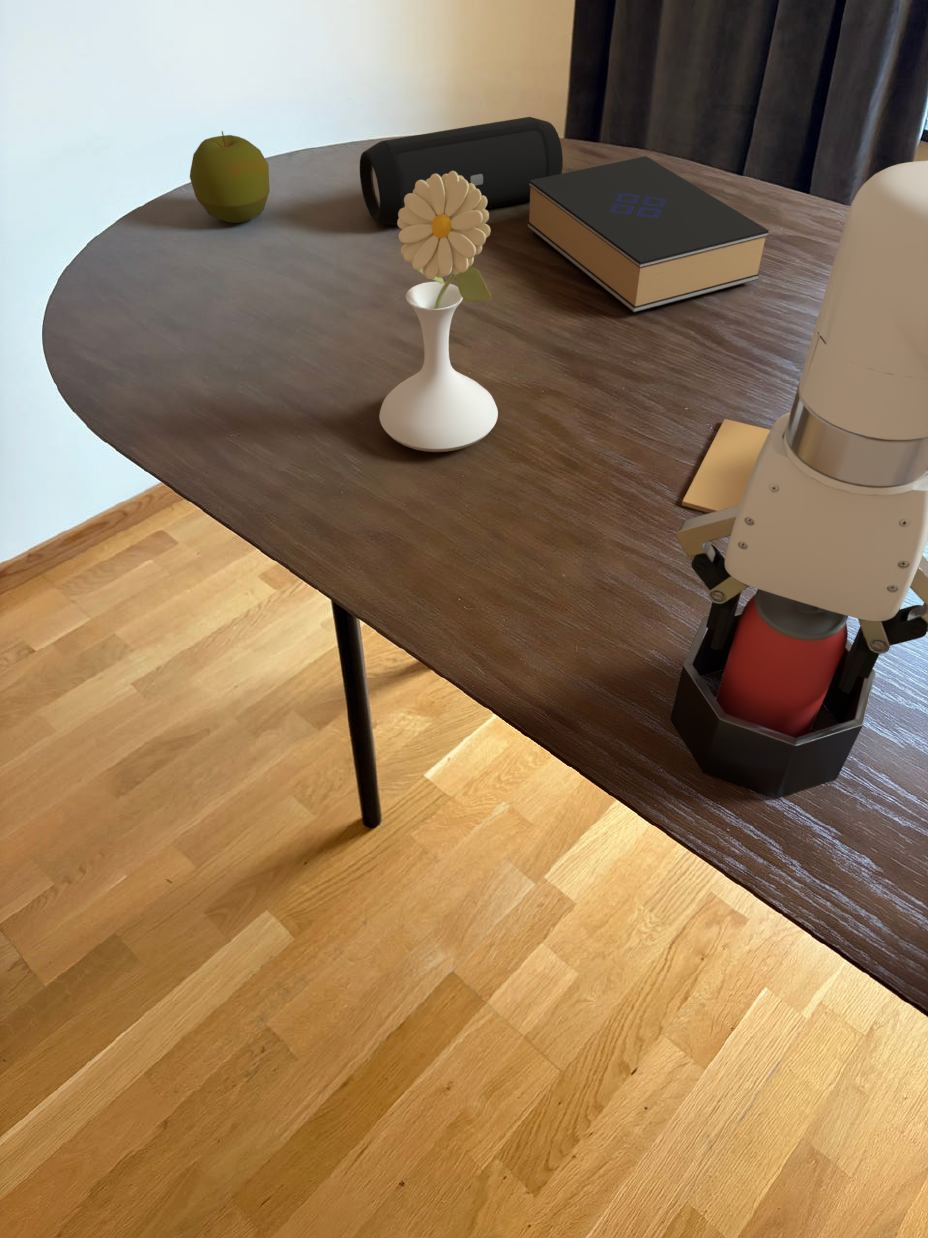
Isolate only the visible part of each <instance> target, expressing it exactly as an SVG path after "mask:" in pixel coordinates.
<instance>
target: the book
mask: <svg viewBox="0 0 928 1238" xmlns="http://www.w3.org/2000/svg"><path fill="white" fill-rule="evenodd" d="M529 181H530V182H529V186H530V187H531V190H530V200H529V216H528V217H529V218H528V222H527V226H526V227H527V228H528V229H530V231H532V232H533V233H534V234H536V235H537V236H538V237H540V239H542V240H543V241H544V242H545V243H546V244H548V245H549V246H551V247H552V248H553V249H554V250H556V251H557V252H558V253H559V254H561V255H562V256H563V257H564V258H565V259H567V260H568V261H569V262H570V263H572V264H573V265H574V266H576V268H578V269H579V270H580V271H582V273H584V274H585V275H586V276H588V277H589V278H590V279H591V280H593V281H594V282H595V283H597V284H598V285H599V286H600V287H601V288H603V289H604V290H605V291H607V293H609V294H610V295H611V296H613V297H614V298H615V299H616V300H618V302H620V303H621V304H623V305H624V306H625V307H626V308H628V309H629V310H630V311H631V312H633V313H637V312H642V311H645V310H648V309H653V308H657V307H661V306H664V305H667V304H672V303H675V302H678V301H682V300H687V299H691V298H694V297H697V296H701V295H705V294H709V293H713V292H716V291H721V290H724V289H728V288H733V287H735V286H740V285H744V284H746V283H750V282H754V281H757V280H759V276H760V274H759V271H760V266H761V262H762V258H763V254H764V248H765V244H766V239H767V237H769V233H770V230H769V229H767V228H766V227H764V226H763V225H761V224H759V223H757V222H756V221H754V220H753V219H751V218H749V217H748V216H746V215H745V214H743V213H742V212H740V211H738V210H736V209H734V208H733V207H731V206H729V205H728V204H726V203H725V202H723V201H721V200H719V199H718V198H716V197H714V196H713V195H711V194H709V192H706V191H705V190H703V189H701V188H700V187H698V186H696V185H694V184H693V183H691V182H690V181H688V180H687V179H685V178H683V177H682V176H680V175H678V174H676V173H675V172H673V171H671V170H670V169H668V168H666V167H665V166H663V165H661V164H660V163H658V162H656V161H654V160H653V159H652V158H650V157H648V156H646V155H645V156H644V155H643V156H640V157H636V158H635V157H634V158H631V159H625V160H620V161H615V162H611V163H607V164H601V165H597V166H592V167H587V168H582V169H578V170H573V171H568V172H562V174H558V175H553V176H548V177H543V178H539V179H534V180H529Z"/></svg>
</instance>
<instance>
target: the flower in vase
mask: <svg viewBox="0 0 928 1238" xmlns="http://www.w3.org/2000/svg"><path fill="white" fill-rule="evenodd" d="M404 203H405V207H404V208H401V209H400V211H399V213H398V216H399V219H398V221H397V224H398V225H397V227H398V228H399V229H401V230H400V232H399V233H398V240H399V242H401V243H402V244H403V245H402V246H401V248H400V254H401V255H402V256H403V260H404V261H405V262H406V263H411V265H412V269H413V270H414V271H418V272H419V273H420V274H422V275H424V276H425V278H427V279H428V280H433V281H427V282H423V283H419V284H416V285H414V286H412V287H411V288H410V289H408V290H407V292H406V294H405V300H406V302H407V303H408V304H409V306H410V307H411V308H412V309H413V310H414V312H415V313H416V316H417V318H418V320H419V325H420V328H421V333H422V339H423V349H424V350H423V351H424V353H423V354H424V357H423V365H422V367H421V369H420V370H419V371H418V372H416V373H415V374H413V375H411V376H409V377H408V378H406V379H405V380H403V381H401V382H400V383H399V384H398V385H396V386H395V387H394V388H393V389H392V390H391V391H390V392H389V393H388V394H387V395H386V396H385V398H384V399H383V402H382V404H381V407H380V410H379V418H378V419H379V422H380V425H381V427H382V428H383V430H384V431H385V432H386V434H388V436H389V437H390V438H391V439H392V440H394V441H395V442H397V443H398V444H401V445H402V446H404V447H407V448H410V449H413V450H416V451H422V452H430V453H431V452H432V453H442V452H443V453H445V452H452V451H458V450H461V449H465V448H468V447H470V446H473V445H475V444H476V443H478V442H480V441H481V440H482V439H484V438H485V437H486V436H487V435H488V434H489V433H490V431H492V429H493V428H494V427H495V425H496V423H497V421H498V418H499V417H498V416H499V411H498V407H497V405H496V402H495V399H494V398H493V396H492V394H491V393H490V392H489V391H488V390H487V389H486V388H484V387H483V385H481V384H479V382H477V381H475V380H474V379H472V378H470V377H468V376H466V375H465V374H462V373H460V372H458V371H456V370H455V369H454V368H453V366H452V364H451V360H450V350H449V349H450V348H449V347H450V346H449V343H450V341H449V339H450V329H451V324H452V320H453V316H454V314H455V312H456V309H457V308H458V307H459V305H460V304H461V303H462V302H463V299H464V300H466V301H470V302H489V301H493V296H492V294H491V292H490V290H489V288H488V287H487V284H486V282H485V280H484V277H483V276H482V274H481V272H480V271H479V269H478V268H476V267H474V266H472V265H473V264H474V261H475V258H474V257H475V256H478V255H480V254H481V253H482V252H483V251H482V250H483V246H484V245H485V243H486V240H487V238H488V237H490V235H491V227H490V225H488V224H487V222H488V221H489V219H490V213H489V211H488V209H485V208H486V206H487V198H486V197H485V196H481V192H480V190H479V189H476V187H475V185H474V184H472V183H469V184H468V182H467V180H465V179H464V177H463V176H460V175H459V176H458V174H457V173H456V172H455V171H451V172H449V174H444V175H443V176H442V177H440V176H439V175H438V174H433V175H432V176H431V177H430V178H429V179H427V180H426V181H423V180H418V181H417V182H416V184H415V189H414V190H413V194H412V193H409V194H407V195H406V196H405V198H404ZM448 276H449V277H448ZM444 277H448V278H447V280H446V281H445V282H444V279H443V278H444ZM454 279H455V282H456V285H455V284H452V282H453V280H454Z"/></svg>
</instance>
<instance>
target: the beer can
mask: <svg viewBox="0 0 928 1238" xmlns="http://www.w3.org/2000/svg"><path fill="white" fill-rule="evenodd" d="M744 606H745V607H744ZM744 606H743V607H744V609H743V611H742V614H741V616H740V618H739V622H738V625H737V629H736V632H735V635H734V639H733V642H732V646H731V649H730V653H729V656H728V659H727V663H726V666H725V670H723V673H722V677H721V679H720V684H719V687H718V691H717V694H716V697H715V699H716V700H717V702H718V703H719V705H720V706H721V708H722V709H723V711H724V712H725V713H726V714H728V715H730V716H733V717H736V718H739V719H742V720H745V721H748V722H751V723H754V724H756V725H759V726H762V727H765V728H768V729H771V730H774V731H777V732H780V733H782V734H785V735H788V736H791V737H794V738H796V737H799V736H802V735H805V734H809V733H811V731H812V728H813V726H814V722H815V720H816V718H817V716H818V714H819V712H820V709H821V706H822V705H823V704H822V702H823V700H824V697H825V695H826V692H827V690H828V688H829V685H830V683H831V681H832V678H833V676H834V674H835V671H836V669H837V667H838V664H839V662H840V659H841V657H842V655H843V652H844V649H845V646H846V643H847V639H848V635H849V633H848V625H847V621H848V619H849V616H846V615H843V614H839V613H836V612H832V611H829V610H826V609H822V608H819V607H816V606H812V605H809V604H805V603H802V602H799V601H796V600H792V599H789V598H786V597H783V596H779V595H776V594H773V593H770V592H767V591H764V590H760V589H756V592H755V594H754V595H753V596H752V597H751V598H750V599H749V600H748V601H747V602H746V604H745V605H744Z"/></svg>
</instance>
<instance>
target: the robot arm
mask: <svg viewBox="0 0 928 1238" xmlns="http://www.w3.org/2000/svg"><path fill="white" fill-rule="evenodd" d="M840 235H841V236H840V238H839V242H838V246H837V249H836V253H835V256H834V260H833V262H832V266H831V269H830V273H829V276H828V281H827V284H826V288H825V290H824V293H823V298H822V302H821V305H820V308H819V312H818V316H817V319H816V323H815V326H814V329H813V333H812V337H811V340H810V343H809V347H808V351H807V354H806V358H805V361H804V365H803V367H802V368H803V369H802V372H801V375H800V379H799V382H798V385H797V388H796V391H795V395H794V399H793V403H792V406H791V410H790V411H788V412H786V413H784V414H782V415H780V416H778V418H777V419H776V420H775V422H774V423H773V425H772V427H771V428H770V429H769V430H770V432H769V434H768V436H767V438H766V440H765V442H764V444H763V446H762V449H761V451H760V453H759V455H758V458H757V460H756V463H755V465H754V468H753V470H752V473H751V476H750V479H749V481H748V484H747V487H746V490H745V493H744V496H743V498H742V501H741V504H740V505H738V506H734V507H731V508H727V509H723V510H719V511H716V512H712V513H705V514H702V515H697V516H694V517H689V518H686V519H684V520H683V521H682V523H681V524H680V526H679V528H678V531H677V533H676V539H677V541H678V542H679V544H680V546H681V547H682V549H683V551H684V553H685V554H686V556H687V557H688V558H689V559H690V561H691V568H692V570H693V571H694V572H695V574H696V575H697V577H699V579H700V580H701V582H702V583H703V584H704V585H705V586H706V587H707V589H708V590H709V592H708V595H707V596H708V599H709V600H710V601H711V606H710V610H709V613H708V616H709V617H708V621H707V624H706V627H707V628H710V629H713V630H715V633H714V637H713V640H712V644H711V649H714V650H717V651H718V650H719V649H721V650H722V648H723V646H724V643H725V641H726V638H727V636H728V633H729V630H730V628H731V625H732V623H733V620H734V616H735V613H736V609H737V608H738V606H739V603H740V599H741V595H742V592H743V591H745V590H746V589H749V588H750V587H752V588H755V589H756V590H758V589H760V590H764V591H767V592H770V593H773V594H776V595H779V596H783V597H786V598H789V599H792V600H796V601H799V602H802V603H805V604H809V605H812V606H816V607H819V608H822V609H826V610H829V611H832V612H836V613H839V614H843V615H846V616H848V617H850V618H855V619H857V620H858V623H859V628H858V630H857V633H856V636H855V637H854V639H853V641H852V643H851V644H852V646H851V649H850V651H849V653H848V656H847V658H846V662H845V665H844V669H843V673H842V676H841V680H840V684H839V688H841V691H843V692H846V693H850V691H851V689H852V687H853V685H854V683H855V681H856V678H857V676H860V677H863V678H866V679H868V677H869V675H870V673H871V671H872V669H873V670H874V667H875V664H876V662H877V661H878V658H879V657H880V654H881V655H882V654H886V653H888V652H889V651H890V649H891V646H895V645H898V644H899V645H900V644H902V643H907V642H911V641H914V640H918V639H922V638H924V637H925V636H926V635H927V633H928V560H927V559H926V557H924V553H925V550H926V548H927V547H926V546H927V544H928V160H918V161H917V160H916V161H908V162H903V163H897V164H894V165H891V166H889V167H886V168H884V169H882V170H880V171H878V172H876V173H875V174H873V175H872V176H871V177H870V178H869V179H867V181H865V182H864V183H863V184H862V185H861V187H860V188H859V190H858V191H857V192H856V194H855V196H854V198H853V199H852V201H851V204H850V206H849V210H848V213H847V216H846V218H845V221H844V224H843V228H842V232H841V234H840ZM728 537H729V539H728V543H727V547H726V552H725V555H724V556H723V554H722V553H721V552H720V551H719V550H718V548H717V547H716V546H715V545H714V544H712V543H711V541H715V540H720V539H724V538H728ZM909 590H912V591H913V593H914V594H915V595H916V596H917V597H918V598H919V599H920V600H921V601H922V602H923V603H922V604H914V605H910V606H907V607H903V608H902V605H903V604H904V601H905V599H906V597H907V595H908V593H909Z"/></svg>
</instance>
